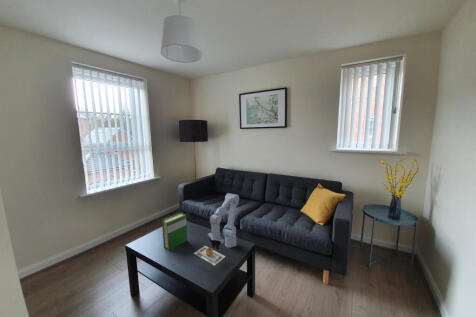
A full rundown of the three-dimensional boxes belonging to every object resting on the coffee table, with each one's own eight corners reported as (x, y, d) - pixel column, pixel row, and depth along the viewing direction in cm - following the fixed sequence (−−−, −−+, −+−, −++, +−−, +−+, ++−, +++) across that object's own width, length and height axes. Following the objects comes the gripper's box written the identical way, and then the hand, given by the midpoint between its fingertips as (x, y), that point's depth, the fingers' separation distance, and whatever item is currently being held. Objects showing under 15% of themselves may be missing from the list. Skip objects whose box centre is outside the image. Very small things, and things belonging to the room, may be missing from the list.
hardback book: (168, 251, 151) (167, 222, 148) (163, 247, 156) (162, 220, 152) (187, 241, 165) (186, 214, 161) (182, 237, 170) (180, 212, 166)
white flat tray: (205, 247, 156) (205, 244, 156) (225, 258, 143) (225, 255, 143) (193, 255, 147) (193, 252, 146) (214, 267, 134) (214, 264, 133)
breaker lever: (209, 252, 147) (209, 246, 146) (212, 254, 145) (212, 248, 144) (206, 255, 144) (205, 249, 143) (208, 256, 142) (208, 250, 141)
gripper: (204, 230, 138) (204, 247, 140) (219, 236, 129) (219, 255, 132) (211, 226, 144) (211, 242, 146) (226, 232, 135) (226, 249, 137)
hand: (215, 248), depth 139 cm, fingers open, 3 cm apart
